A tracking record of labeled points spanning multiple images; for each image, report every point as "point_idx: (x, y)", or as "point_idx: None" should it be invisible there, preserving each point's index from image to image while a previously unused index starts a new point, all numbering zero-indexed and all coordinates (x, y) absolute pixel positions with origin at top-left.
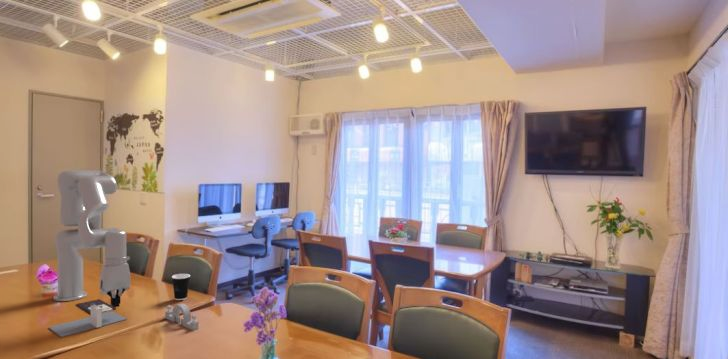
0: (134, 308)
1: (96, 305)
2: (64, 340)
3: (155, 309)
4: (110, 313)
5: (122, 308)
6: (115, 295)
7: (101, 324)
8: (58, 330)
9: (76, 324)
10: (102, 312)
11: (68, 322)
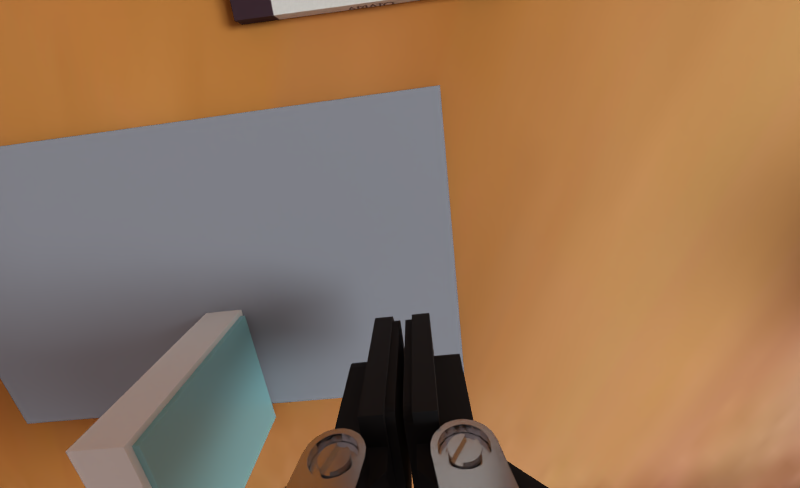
0: (662, 116)
1: (141, 481)
2: (63, 467)
3: (768, 295)
4: (402, 149)
5: (573, 10)
6: (417, 452)
7: (268, 428)
8: None
9: (100, 259)
10: (350, 8)
11: (24, 150)
